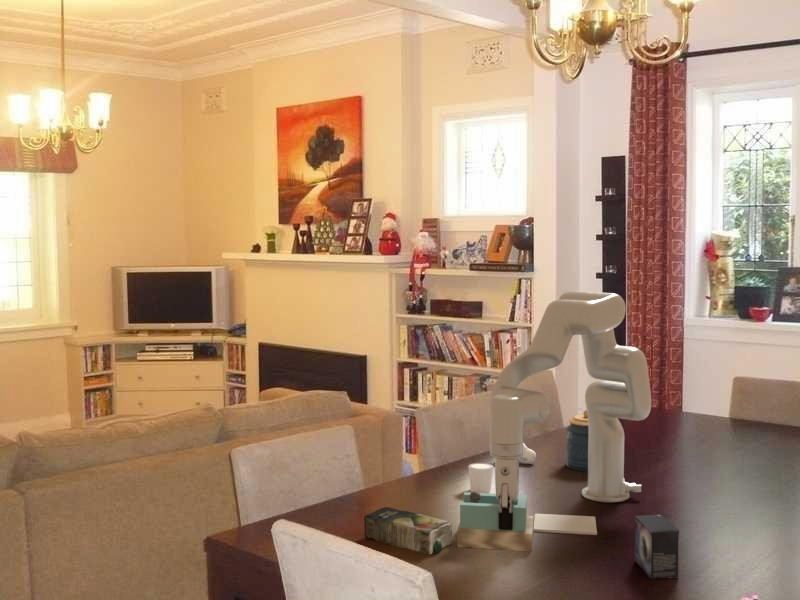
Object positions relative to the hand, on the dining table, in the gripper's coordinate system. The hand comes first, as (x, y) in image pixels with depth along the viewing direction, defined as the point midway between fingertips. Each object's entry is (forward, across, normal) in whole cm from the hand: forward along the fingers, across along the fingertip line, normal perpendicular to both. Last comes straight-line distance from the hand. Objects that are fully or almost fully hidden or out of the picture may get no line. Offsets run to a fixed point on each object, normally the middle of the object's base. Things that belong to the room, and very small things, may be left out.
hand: (505, 526), depth 209 cm
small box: (+5, -9, -32) cm, 34 cm away
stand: (+5, +4, +2) cm, 7 cm away
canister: (+5, +73, -20) cm, 76 cm away
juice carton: (+5, 0, +23) cm, 23 cm away
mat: (+5, +17, -14) cm, 22 cm away
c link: (+1, +4, +2) cm, 5 cm away
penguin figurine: (+5, +75, 0) cm, 75 cm away
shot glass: (+5, +43, +10) cm, 44 cm away
